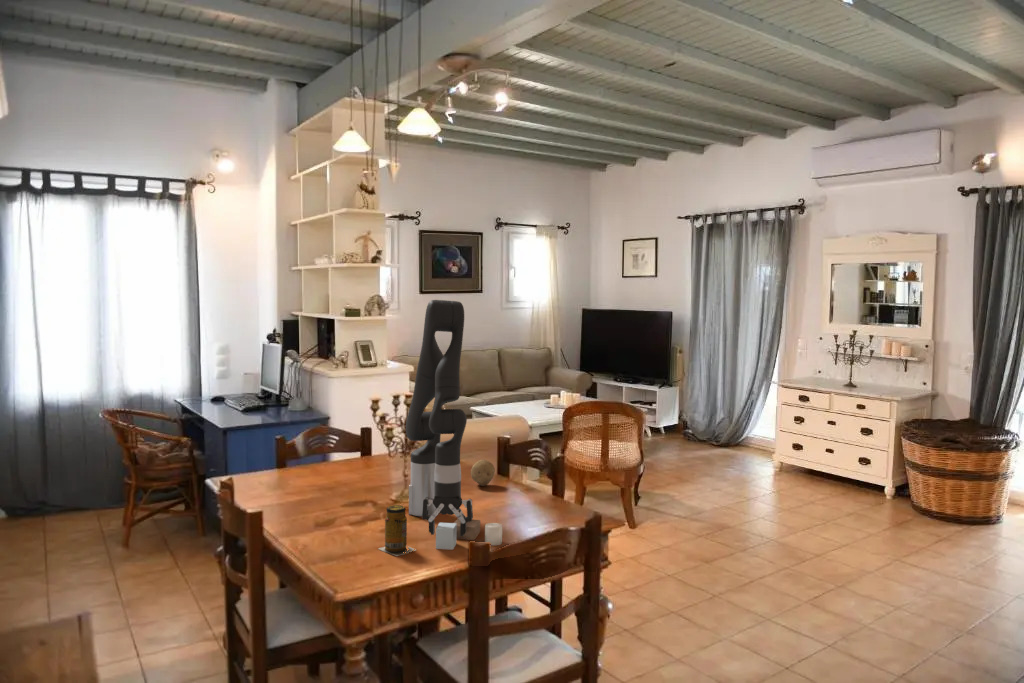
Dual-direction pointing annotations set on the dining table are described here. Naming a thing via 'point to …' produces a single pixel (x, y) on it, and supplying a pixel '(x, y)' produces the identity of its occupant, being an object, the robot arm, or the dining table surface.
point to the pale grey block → (446, 535)
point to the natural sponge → (482, 472)
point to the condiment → (396, 531)
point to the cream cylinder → (493, 533)
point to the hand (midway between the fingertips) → (447, 534)
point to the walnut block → (468, 529)
